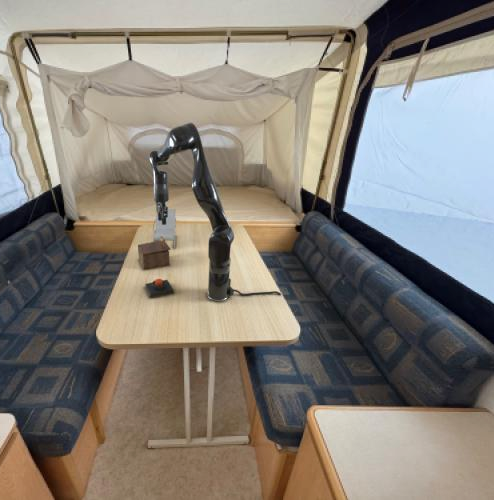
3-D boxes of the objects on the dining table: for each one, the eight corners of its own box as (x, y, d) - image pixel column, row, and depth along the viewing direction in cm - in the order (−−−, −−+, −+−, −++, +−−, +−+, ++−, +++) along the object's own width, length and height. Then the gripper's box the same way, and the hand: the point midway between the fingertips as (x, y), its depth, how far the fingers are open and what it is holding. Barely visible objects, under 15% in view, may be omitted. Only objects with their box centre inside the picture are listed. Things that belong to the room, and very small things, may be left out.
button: (161, 281, 127) (161, 278, 126) (163, 285, 124) (163, 281, 123) (154, 282, 126) (154, 279, 125) (156, 286, 123) (156, 283, 122)
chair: (176, 235, 190) (175, 208, 182) (174, 249, 167) (174, 220, 159) (157, 234, 190) (156, 208, 181) (153, 249, 167) (151, 220, 159)
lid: (163, 241, 156) (163, 233, 153) (170, 249, 145) (169, 241, 143) (137, 246, 151) (136, 238, 148) (142, 255, 140) (141, 246, 138)
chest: (162, 256, 160) (162, 242, 156) (169, 265, 149) (169, 251, 145) (138, 259, 154) (137, 246, 151) (143, 270, 144) (142, 255, 140)
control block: (167, 283, 132) (167, 276, 131) (173, 293, 125) (173, 285, 123) (145, 287, 128) (145, 280, 127) (150, 297, 121) (149, 290, 119)
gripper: (172, 194, 132) (173, 226, 139) (164, 188, 144) (164, 217, 151) (157, 195, 129) (159, 227, 136) (150, 189, 141) (151, 219, 148)
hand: (162, 222), depth 144 cm, fingers open, 6 cm apart
